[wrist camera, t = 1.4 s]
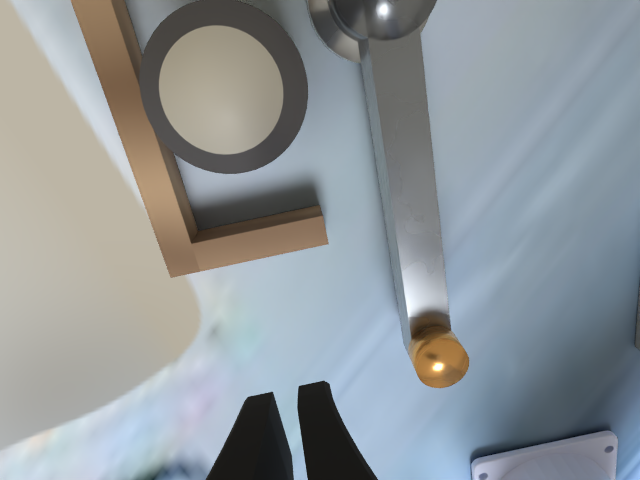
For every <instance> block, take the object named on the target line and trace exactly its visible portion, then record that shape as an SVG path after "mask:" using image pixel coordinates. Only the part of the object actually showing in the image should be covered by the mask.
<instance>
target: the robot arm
mask: <svg viewBox="0 0 640 480" xmlns="http://www.w3.org/2000/svg"><path fill="white" fill-rule="evenodd" d="M297 408H298V416H299V422H300V429H301V436H302V443H303V450H304V457H305V463H306V470H307V477H308V480H378V479H377V477H376V476H375V474H374V473H373V471H372V470H371V468H370V467H369V465H368V464H367V462H366V461H365V459H364V458H363V456H362V454H361V453H360V451H359V450H358V448H357V446H356V444H355V443H354V441H353V439H352V437H351V436H350V434H349V432H348V430H347V429H346V427H345V425H344V423H343V421H342V419H341V417H340V414H339V412H338V410H337V408H336V405H335V403H334V400H333V397H332V393H331V389H330V384H329V383H327V382H325V381H320V382H316V383H311V384H306V385H302V386H299V388H298V406H297ZM617 446H618V438H617V437H616V435H615V434H614V433H613V432H612V431H601V432H597V433H592V434H587V435H583V436H578V437H573V438H569V439H564V440H559V441H555V442H550V443H545V444H541V445H536V446H531V447H527V448H522V449H517V450H513V451H508V452H503V453H499V454H494V455H489V456H485V457H480V458H477V459H475V460H474V461H473V462H472V464H471V470H472V480H615V476H616V461H617ZM206 480H294V477H293V465H292V455H291V451H290V448H289V445H288V441H287V438H286V434H285V431H284V428H283V424H282V421H281V418H280V414H279V411H278V408H277V404H276V401H275V397H274V394H273V392H269V393H265V394H260V395H255V396H251V397H248V398H247V399H246V400H245V402H244V404H243V406H242V408H241V410H240V413H239V415H238V417H237V419H236V421H235V423H234V426H233V428H232V430H231V432H230V434H229V436H228V438H227V440H226V442H225V444H224V446H223V448H222V450H221V452H220V454H219V456H218V458H217V459H216V461H215V463H214V465H213V467H212V469H211V471H210V473H209V475H208V476H207V478H206Z"/></svg>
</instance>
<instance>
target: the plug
mask: <svg viewBox="0 0 640 480" xmlns="http://www.w3.org/2000/svg"><path fill="white" fill-rule="evenodd" d="M139 84H140V94H141V99H142V103H143V107H144V110H145V113H146V115H147V118H148V120H149V122H150V124H151V126H152V128H153V129H154V131H155V132H156V134H157V135H158V137H159V138H160V139H161V140H162V142H163V143H164V144H165V145H166V146H167V147H168V148H169V149H170V150H171V151H172V152H173V153H175V154H176V155H177V156H178V157H180V158H181V159H183V160H184V161H186V162H188V163H190V164H192V165H194V166H196V167H198V168H201V169H204V170H207V171H211V172H215V173H223V174H237V173H244V172H249V171H252V170H256V169H258V168H260V167H263V166H265V165H267V164H268V163H270V162H272V161H273V160H275V159H276V158H277V157H279V156H280V155H281V154H282V153H283V152H284V151H285V150H286V149H287V148H288V147H289V146H290V144H291V143H292V142H293V140H294V139H295V137H296V135H297V134H298V132H299V130H300V128H301V125H302V123H303V120H304V117H305V113H306V109H307V100H308V84H307V77H306V72H305V68H304V64H303V61H302V59H301V56H300V54H299V52H298V50H297V48H296V46H295V44H294V43H293V41H292V40H291V38H290V37H289V35H288V34H287V33H286V32H285V30H284V29H283V28H282V27H281V26H280V25H279V24H278V23H277V22H276V21H274V20H273V19H272V18H271V17H270V16H268V15H267V14H265V13H264V12H262V11H261V10H259V9H257V8H255V7H253V6H251V5H248V4H246V3H242V2H239V1H236V0H200V1H196V2H193V3H190V4H188V5H185V6H183V7H181V8H179V9H178V10H176V11H175V12H173V13H172V14H170V15H169V16H168V17H167V18H166V19H165V20H163V21H162V22H161V23H160V25H159V26H158V27H157V28H156V30H155V31H154V32H153V34H152V36H151V37H150V39H149V41H148V43H147V45H146V48H145V50H144V53H143V57H142V61H141V66H140V74H139Z"/></svg>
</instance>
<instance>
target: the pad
mask: <svg viewBox="0 0 640 480" xmlns="http://www.w3.org/2000/svg"><path fill="white" fill-rule="evenodd" d="M635 347H636V348H638V349H639V350H640V287H639V300H638V313H637V326H636V339H635Z"/></svg>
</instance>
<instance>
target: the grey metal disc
mask: <svg viewBox="0 0 640 480" xmlns="http://www.w3.org/2000/svg"><path fill="white" fill-rule="evenodd" d="M307 7H308V13H309V17H310V20H311V23H312V26H313V28H314V30H315V32H316V34H317V36H318V37H319V38H320V40H321V41H322V43H323V44H324V45H325V46H326V47H327V48H328V49H329V50H330V51H332V52H333V53H334V54H336V55H337V56H339V57H341V58H343V59H345V60H347V61H351V62H354V63H361V61H360V54H359V48H358V42H357V41H355V40H353V39H351V38H349V37H348V36H346V35H345V34H344V33H343V32H342V31H341V30H340V29H339V28H338V26H337V25H336V23H335V22H334V20H333V18H332V16H331V13H330V11H329V7H328V3H327V0H307ZM428 17H429V16H428ZM427 20H428V18H427V19H426V20H425V21H424V22H423V24H422V25H421V26H420V33H421V32H422V30H423V28H424V26H425V24H426V22H427Z"/></svg>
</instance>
